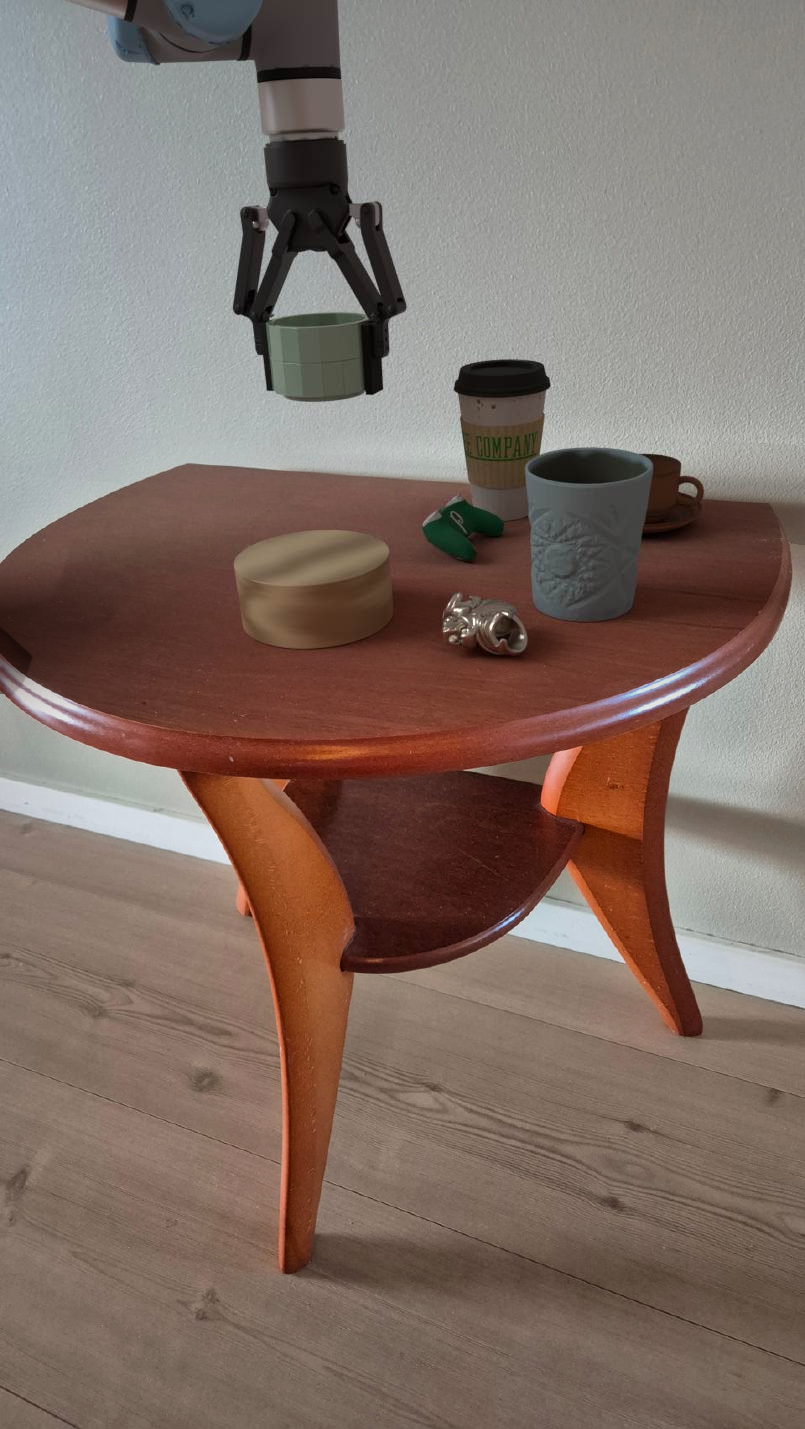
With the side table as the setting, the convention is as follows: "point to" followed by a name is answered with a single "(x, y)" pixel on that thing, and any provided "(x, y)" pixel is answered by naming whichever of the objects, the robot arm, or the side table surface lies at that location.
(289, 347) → the bowl
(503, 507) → the coffee cup
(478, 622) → the ornament
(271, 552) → the stand
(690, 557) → the side table surface
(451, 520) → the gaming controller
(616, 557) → the blue-grey embossed tumbler
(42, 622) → the side table surface
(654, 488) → the cup and saucer
